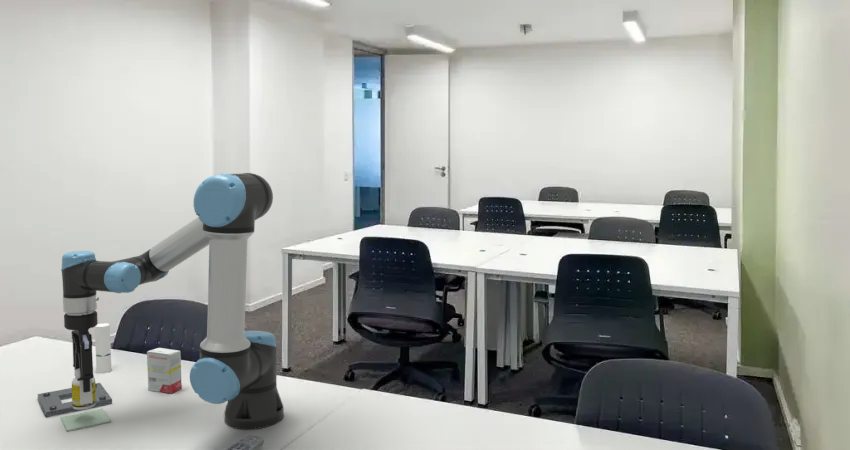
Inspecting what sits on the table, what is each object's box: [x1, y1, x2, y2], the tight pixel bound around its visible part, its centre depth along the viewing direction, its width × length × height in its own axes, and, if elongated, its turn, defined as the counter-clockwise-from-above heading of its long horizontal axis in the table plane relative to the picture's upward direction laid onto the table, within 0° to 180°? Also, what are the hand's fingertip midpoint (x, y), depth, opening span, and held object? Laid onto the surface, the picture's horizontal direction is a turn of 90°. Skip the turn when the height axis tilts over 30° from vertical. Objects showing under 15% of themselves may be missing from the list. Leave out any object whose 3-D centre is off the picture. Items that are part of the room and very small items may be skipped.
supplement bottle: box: [71, 368, 96, 411], centre depth 166 cm, size 5×5×10 cm
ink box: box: [146, 347, 182, 394], centre depth 189 cm, size 9×5×12 cm, turn 70°
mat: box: [60, 408, 112, 432], centre depth 167 cm, size 10×10×1 cm
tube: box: [94, 322, 113, 374], centre depth 204 cm, size 4×4×15 cm
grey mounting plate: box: [37, 382, 113, 418], centre depth 179 cm, size 16×16×2 cm
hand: (84, 399), depth 166 cm, fingers closed on supplement bottle, 5 cm apart
